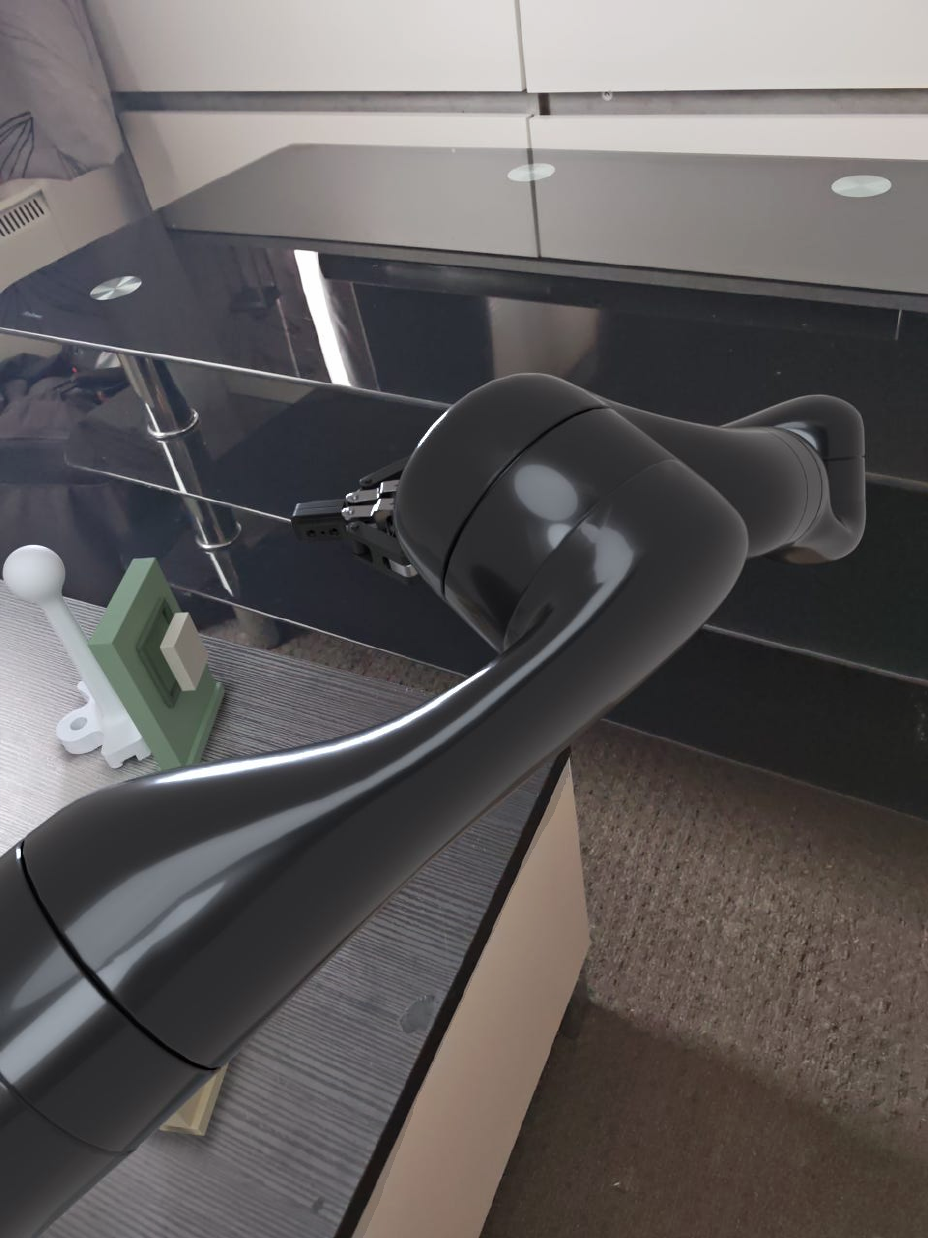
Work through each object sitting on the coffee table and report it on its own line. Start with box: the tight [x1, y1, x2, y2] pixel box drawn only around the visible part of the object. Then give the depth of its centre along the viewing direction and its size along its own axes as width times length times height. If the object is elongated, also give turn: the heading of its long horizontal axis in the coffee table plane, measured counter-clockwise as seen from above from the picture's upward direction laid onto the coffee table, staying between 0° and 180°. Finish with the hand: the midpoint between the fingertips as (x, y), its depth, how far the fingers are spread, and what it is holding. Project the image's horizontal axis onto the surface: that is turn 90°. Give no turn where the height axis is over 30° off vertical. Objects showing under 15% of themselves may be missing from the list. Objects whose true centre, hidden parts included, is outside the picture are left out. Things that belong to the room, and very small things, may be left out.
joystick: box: [2, 544, 152, 769], centre depth 77 cm, size 11×8×20 cm
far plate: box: [87, 557, 226, 772], centre depth 76 cm, size 3×10×16 cm, turn 176°
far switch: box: [160, 612, 210, 691], centre depth 74 cm, size 1×4×5 cm, turn 176°
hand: (295, 523), depth 64 cm, fingers closed
